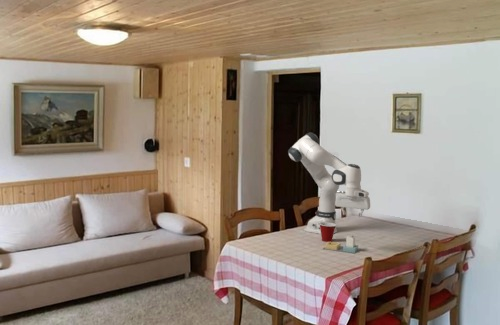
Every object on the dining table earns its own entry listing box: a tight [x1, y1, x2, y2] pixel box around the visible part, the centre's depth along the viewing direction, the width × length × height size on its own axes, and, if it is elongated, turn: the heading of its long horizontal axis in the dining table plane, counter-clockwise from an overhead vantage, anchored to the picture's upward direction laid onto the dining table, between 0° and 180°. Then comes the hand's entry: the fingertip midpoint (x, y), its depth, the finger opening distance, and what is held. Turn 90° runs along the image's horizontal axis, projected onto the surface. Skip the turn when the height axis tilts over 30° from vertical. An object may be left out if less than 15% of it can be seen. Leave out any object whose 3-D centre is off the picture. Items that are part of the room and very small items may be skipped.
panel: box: [322, 241, 361, 255], centre depth 307 cm, size 20×12×4 cm, turn 62°
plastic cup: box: [319, 222, 337, 243], centre depth 325 cm, size 11×11×12 cm
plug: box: [345, 234, 356, 248], centre depth 304 cm, size 4×4×9 cm
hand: (352, 215), depth 303 cm, fingers open, 8 cm apart
